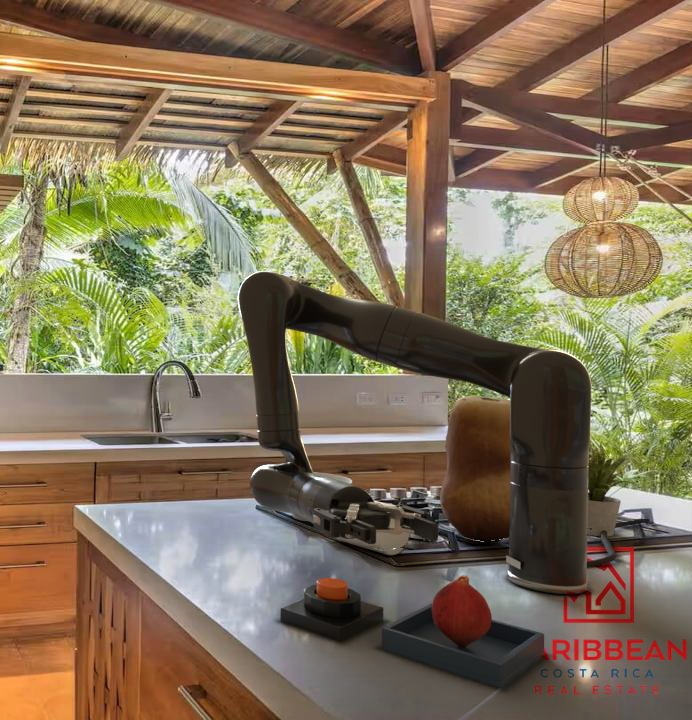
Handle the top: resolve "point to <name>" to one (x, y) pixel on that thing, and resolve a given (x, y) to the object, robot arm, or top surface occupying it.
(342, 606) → the panel
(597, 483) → the house plant
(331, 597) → the button
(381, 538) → the mug
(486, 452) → the butternut squash
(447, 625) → the onion
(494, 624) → the tray
